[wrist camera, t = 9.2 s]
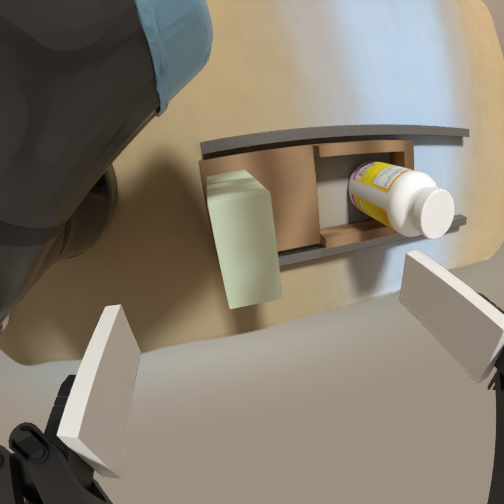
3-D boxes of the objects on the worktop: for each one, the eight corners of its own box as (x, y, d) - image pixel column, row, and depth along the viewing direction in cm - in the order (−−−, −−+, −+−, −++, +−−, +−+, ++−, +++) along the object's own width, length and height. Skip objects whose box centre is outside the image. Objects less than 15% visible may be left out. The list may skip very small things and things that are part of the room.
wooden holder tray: (218, 258, 34) (227, 328, 22) (199, 160, 29) (194, 178, 17) (399, 223, 36) (465, 263, 24) (398, 139, 31) (475, 152, 19)
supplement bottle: (384, 213, 35) (450, 251, 23) (342, 209, 34) (404, 249, 22) (393, 164, 33) (466, 186, 21) (350, 155, 31) (421, 172, 20)
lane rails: (224, 271, 35) (225, 277, 33) (200, 142, 28) (200, 142, 27) (459, 221, 38) (465, 224, 36) (462, 128, 32) (469, 129, 30)
